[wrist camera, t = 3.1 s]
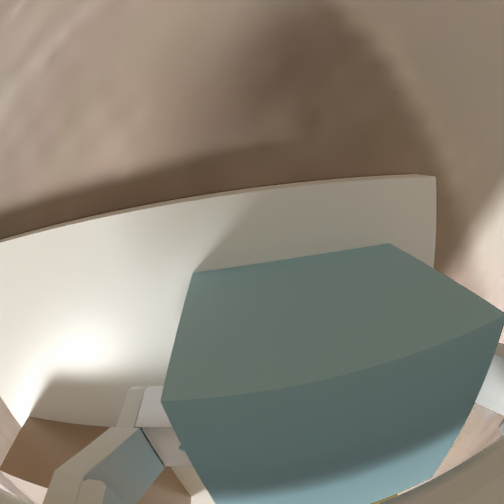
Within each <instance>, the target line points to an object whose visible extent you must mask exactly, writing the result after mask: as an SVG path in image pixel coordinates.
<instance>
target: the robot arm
mask: <svg viewBox="0 0 504 504" xmlns="http://www.w3.org/2000/svg"><path fill="white" fill-rule="evenodd" d="M163 387H164V386H148V387H131V388H130V389H129V391H128V393H127V396H126V399H125V402H124V405H123V408H122V411H121V414H120V416H119V419H118V422H117V425H116V427H110V428H109V429H108V430H107V431H105V432H104V433H103V434H102V435H100V436H99V437H98V438H97V439H95V440H94V441H93V442H91V443H90V444H89V445H88V446H86V447H85V448H84V449H82V450H81V451H80V452H78V453H77V454H76V455H75V456H73V457H72V458H71V459H69V460H68V461H67V462H65V463H64V464H63V465H61V466H60V467H59V468H57V469H56V470H55V472H54V474H53V477H52V479H51V482H50V485H49V487H48V490H47V493H46V495H45V498H44V501H43V504H136V503H137V502H138V500H139V499H140V498H141V497H142V496H143V494H144V493H145V492H146V491H147V490H148V488H149V487H150V486H151V485H152V483H153V482H154V481H155V480H156V478H157V477H158V476H159V475H160V473H161V472H162V471H163V470H164V468H165V467H164V466H193V465H192V464H191V462H190V460H189V458H188V456H187V454H186V453H185V451H184V449H183V447H182V445H181V443H180V441H179V439H178V437H177V435H176V433H175V431H174V429H173V427H172V425H171V423H170V421H169V419H168V417H167V415H166V412H165V410H164V408H163V406H162V404H161V401H160V400H161V396H162V391H163ZM475 403H477V404H479V405H481V406H483V407H486V408H488V409H490V410H492V411H494V412H497V413H499V414H501V415H503V416H504V344H501V343H498V345H497V348H496V351H495V354H494V357H493V360H492V362H491V365H490V368H489V370H488V373H487V375H486V378H485V380H484V383H483V385H482V387H481V390H480V392H479V394H478V396H477V399H476V401H475ZM499 431H500V432H501V433H502V434H503V436H501V437H500V438H499V439H497V440H496V441H494V442H493V443H492V444H490V445H489V446H487V447H486V448H485V449H483V450H482V451H480V452H479V453H477V454H476V455H474V456H472V457H471V458H469V459H468V460H466V461H465V462H463V463H461V464H460V465H458V466H456V467H454V468H453V469H451V470H449V471H447V472H446V473H444V474H442V475H440V476H438V477H436V478H434V479H433V480H431V481H429V482H427V483H425V484H423V485H420V486H418V487H416V488H414V489H412V490H410V491H408V492H405V493H403V494H401V495H398V496H396V497H393V498H391V499H388V500H386V501H383V502H381V503H378V504H504V419H503V421H502V422H501V424H500V426H499ZM0 504H35V503H32V502H29V501H27V500H25V499H22V498H20V497H18V496H15V495H13V494H11V493H9V492H7V491H4V490H2V489H0Z"/></svg>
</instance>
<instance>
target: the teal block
mask: <svg viewBox="0 0 504 504" xmlns="http://www.w3.org/2000/svg"><path fill="white" fill-rule="evenodd" d="M503 326H504V312H502V311H501V310H499V309H498V308H496V307H495V306H493V305H492V304H490V303H489V302H487V301H486V300H484V299H483V298H481V297H479V296H478V295H476V294H475V293H473V292H472V291H470V290H468V289H467V288H465V287H464V286H462V285H460V284H459V283H457V282H456V281H454V280H452V279H451V278H449V277H447V276H446V275H444V274H442V273H441V272H439V271H437V270H436V269H434V268H432V267H431V266H429V265H427V264H425V263H424V262H422V261H420V260H418V259H417V258H415V257H413V256H411V255H410V254H408V253H406V252H404V251H402V250H401V249H399V248H397V247H395V246H393V245H392V244H390V243H387V244H381V245H374V246H368V247H362V248H356V249H349V250H343V251H337V252H330V253H324V254H317V255H311V256H304V257H298V258H291V259H285V260H278V261H271V262H264V263H258V264H251V265H244V266H237V267H230V268H224V269H217V270H210V271H203V272H196V273H192V277H191V280H190V284H189V288H188V291H187V295H186V299H185V302H184V306H183V310H182V313H181V317H180V321H179V325H178V329H177V333H176V337H175V341H174V345H173V349H172V353H171V357H170V361H169V365H168V369H167V374H166V378H165V382H164V387H163V391H162V396H161V400H160V401H161V404H162V406H163V408H164V410H165V412H166V415H167V417H168V419H169V421H170V423H171V425H172V427H173V429H174V431H175V433H176V435H177V437H178V439H179V441H180V443H181V445H182V447H183V449H184V451H185V453H186V454H187V456H188V458H189V460H190V462H191V464H192V465H193V467H194V469H195V471H196V472H197V474H198V476H199V478H200V479H201V481H202V483H203V484H204V486H205V488H206V489H207V491H208V493H209V494H210V496H211V497H212V499H213V501H214V502H215V504H371V503H374V502H376V501H379V500H382V499H384V498H387V497H390V496H392V495H395V494H397V493H399V492H402V491H404V490H406V489H409V488H411V487H413V486H415V485H417V484H420V483H422V482H424V481H426V480H428V479H430V478H432V476H433V475H434V473H435V472H436V470H437V469H438V467H439V466H440V464H441V463H442V461H443V460H444V458H445V456H446V455H447V453H448V452H449V450H450V448H451V447H452V445H453V443H454V441H455V440H456V438H457V436H458V434H459V433H460V431H461V429H462V427H463V425H464V423H465V421H466V419H467V417H468V415H469V413H470V411H471V409H472V407H473V405H474V403H475V401H476V399H477V396H478V394H479V392H480V390H481V387H482V385H483V383H484V380H485V378H486V375H487V373H488V370H489V368H490V365H491V362H492V360H493V357H494V354H495V351H496V348H497V345H498V342H499V339H500V336H501V332H502V329H503Z"/></svg>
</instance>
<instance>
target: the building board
mask: <svg viewBox="0 0 504 504" xmlns="http://www.w3.org/2000/svg"><path fill="white" fill-rule="evenodd" d="M435 242H436V176H428V175H420V174H403V175H384V176H368V177H353V178H341V179H329V180H318V181H308V182H298V183H289V184H280V185H272V186H263V187H256V188H248V189H241V190H233V191H226V192H220V193H213V194H206V195H200V196H194V197H188V198H182V199H176V200H170V201H165V202H159V203H154V204H148V205H143V206H138V207H133V208H128V209H123V210H118V211H113V212H108V213H104V214H99V215H95V216H90V217H86V218H81V219H77V220H73V221H69V222H64V223H60V224H56V225H52V226H48V227H44V228H41V229H37V230H33V231H29V232H26V233H22V234H18V235H15V236H11V237H8V238H4V239H1V240H0V396H1V398H2V399H3V401H4V403H5V404H6V406H7V407H8V408H9V410H10V411H11V413H12V414H13V416H14V417H15V418H16V420H17V421H18V423H19V424H20V425H21V427H22V428H21V430H20V432H19V434H18V435H17V437H16V439H15V441H14V443H13V444H12V446H11V448H10V450H9V452H8V454H7V456H6V458H5V460H4V462H3V463H2V465H1V467H0V471H1V472H2V473H3V474H4V475H5V476H6V477H7V478H8V479H9V480H10V481H11V482H12V483H13V484H14V485H15V486H16V487H17V488H18V489H20V490H21V491H22V492H23V493H24V494H25V495H26V496H28V497H29V498H30V499H31V500H32V501H33V502H35V503H36V504H43V501H44V498H45V495H46V493H47V490H48V487H49V485H50V482H51V479H52V477H53V474H54V472H55V470H56V469H57V468H59V467H60V466H61V465H63V464H64V463H65V462H67V461H68V460H69V459H71V458H72V457H73V456H75V455H76V454H77V453H78V452H80V451H81V450H82V449H84V448H85V447H86V446H88V445H89V444H90V443H91V442H93V441H94V440H95V439H97V438H98V437H99V436H100V435H102V434H103V433H104V432H105V431H107V430H108V429H109V428H110V427H116V425H117V422H118V419H119V416H120V414H121V411H122V408H123V405H124V402H125V399H126V396H127V393H128V391H129V389H130V388H131V387H148V386H164V382H165V378H166V374H167V369H168V365H169V361H170V357H171V353H172V349H173V345H174V341H175V337H176V333H177V329H178V325H179V321H180V317H181V313H182V310H183V306H184V302H185V299H186V295H187V291H188V288H189V284H190V280H191V277H192V273H196V272H203V271H210V270H217V269H224V268H230V267H237V266H244V265H251V264H258V263H264V262H271V261H278V260H285V259H291V258H298V257H304V256H311V255H317V254H324V253H330V252H337V251H343V250H349V249H356V248H362V247H368V246H374V245H381V244H387V243H390V244H392V245H393V246H395V247H397V248H399V249H401V250H402V251H404V252H406V253H408V254H410V255H411V256H413V257H415V258H417V259H418V260H420V261H422V262H424V263H425V264H427V265H429V266H431V267H432V268H434V258H435ZM164 467H165V468H164V470H163V471H162V472H161V473H160V475H159V476H158V477H157V478H156V480H155V481H154V482H153V483H152V485H151V486H150V487H149V488H148V490H147V491H146V492H145V493H144V494H143V496H142V497H141V498H140V499H139V500H138V502H137V503H136V504H215V502H214V501H213V499H212V497H211V496H210V494H209V493H208V491H207V489H206V488H205V486H204V484H203V483H202V481H201V479H200V478H199V476H198V474H197V472H196V471H195V469H194V467H193V466H164Z"/></svg>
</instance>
